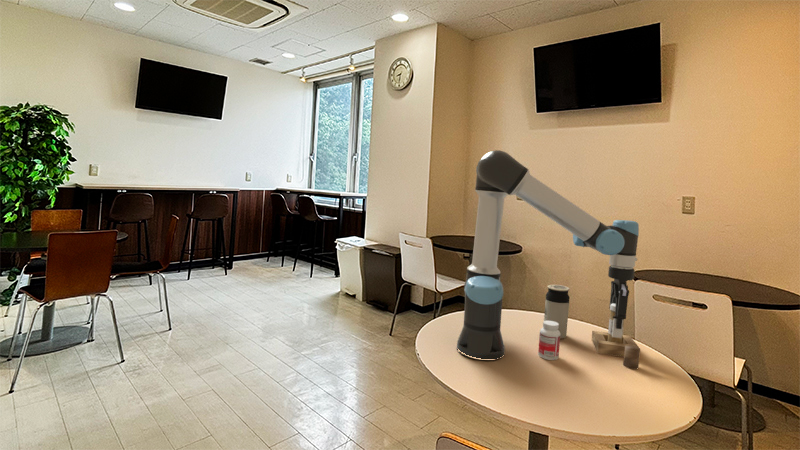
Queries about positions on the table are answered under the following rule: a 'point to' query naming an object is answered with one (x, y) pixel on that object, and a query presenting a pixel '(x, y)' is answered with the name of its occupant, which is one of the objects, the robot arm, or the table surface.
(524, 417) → the table surface
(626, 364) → the walnut stub
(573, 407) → the table surface
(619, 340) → the sprinkles bottle
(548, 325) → the pill bottle
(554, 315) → the travel mug
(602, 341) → the oak collar
